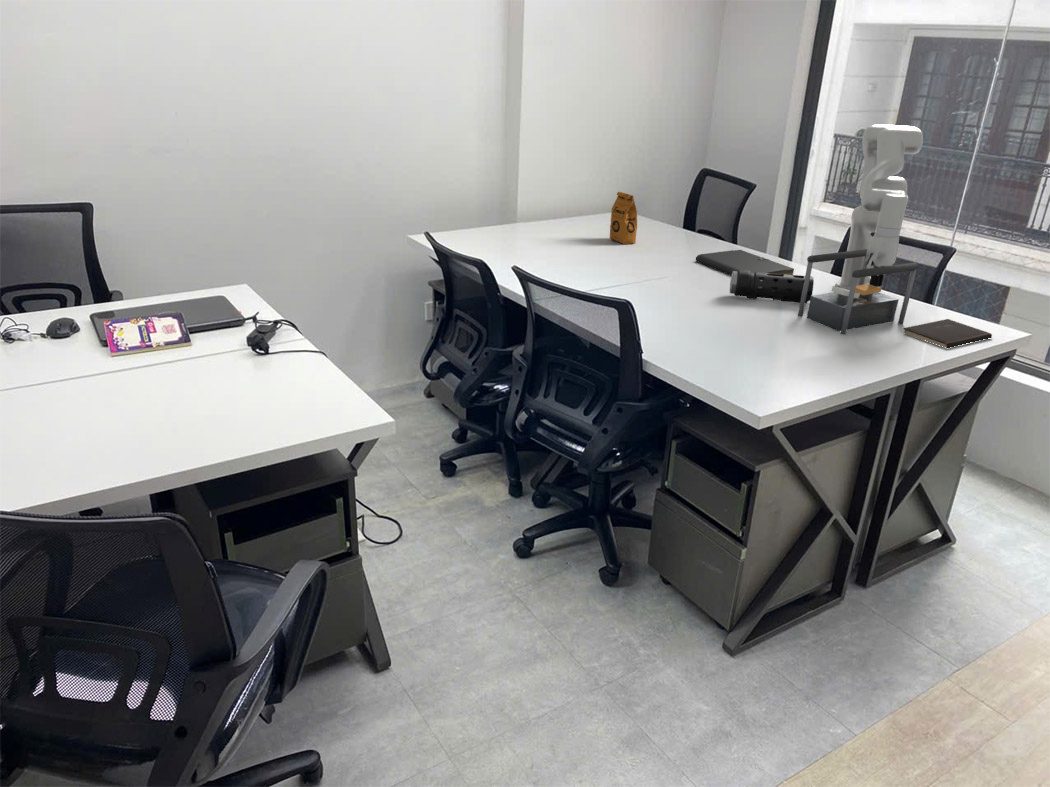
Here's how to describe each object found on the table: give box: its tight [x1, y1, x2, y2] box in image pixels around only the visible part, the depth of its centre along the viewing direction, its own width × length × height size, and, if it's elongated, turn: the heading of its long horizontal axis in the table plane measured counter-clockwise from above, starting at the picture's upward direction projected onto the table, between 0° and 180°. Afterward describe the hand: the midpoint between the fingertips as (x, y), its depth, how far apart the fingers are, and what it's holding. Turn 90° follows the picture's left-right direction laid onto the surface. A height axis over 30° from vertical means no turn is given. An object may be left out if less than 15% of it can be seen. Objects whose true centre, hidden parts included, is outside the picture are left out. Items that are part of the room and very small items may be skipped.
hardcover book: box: [903, 318, 993, 349], centre depth 252 cm, size 16×23×2 cm
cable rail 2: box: [840, 262, 919, 336], centre depth 252 cm, size 29×2×21 cm, turn 116°
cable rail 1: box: [797, 249, 868, 318], centre depth 267 cm, size 29×2×21 cm, turn 116°
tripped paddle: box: [855, 282, 882, 295], centre depth 262 cm, size 8×5×2 cm, turn 116°
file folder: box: [695, 249, 795, 276], centre depth 320 cm, size 33×4×24 cm
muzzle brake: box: [729, 270, 815, 304], centre depth 280 cm, size 10×28×10 cm, turn 78°
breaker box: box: [806, 291, 900, 332], centre depth 262 cm, size 26×14×9 cm, turn 117°
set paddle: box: [830, 286, 860, 298], centre depth 258 cm, size 8×5×2 cm, turn 117°
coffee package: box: [609, 191, 638, 245], centre depth 353 cm, size 10×12×22 cm
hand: (875, 285), depth 263 cm, fingers closed
